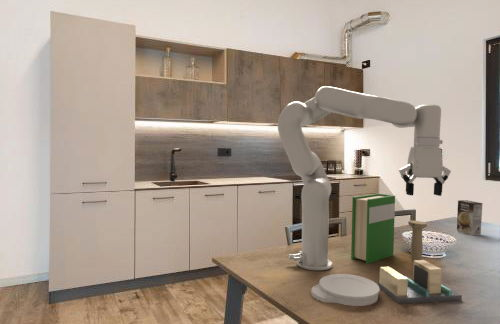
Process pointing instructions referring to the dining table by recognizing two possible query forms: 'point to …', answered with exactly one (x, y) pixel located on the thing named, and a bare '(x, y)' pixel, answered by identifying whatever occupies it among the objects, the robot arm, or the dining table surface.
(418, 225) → the handle
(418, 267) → the light wooden block
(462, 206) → the coffee box
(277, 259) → the dining table surface
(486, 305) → the dining table surface
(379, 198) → the hardback book
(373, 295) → the lid
